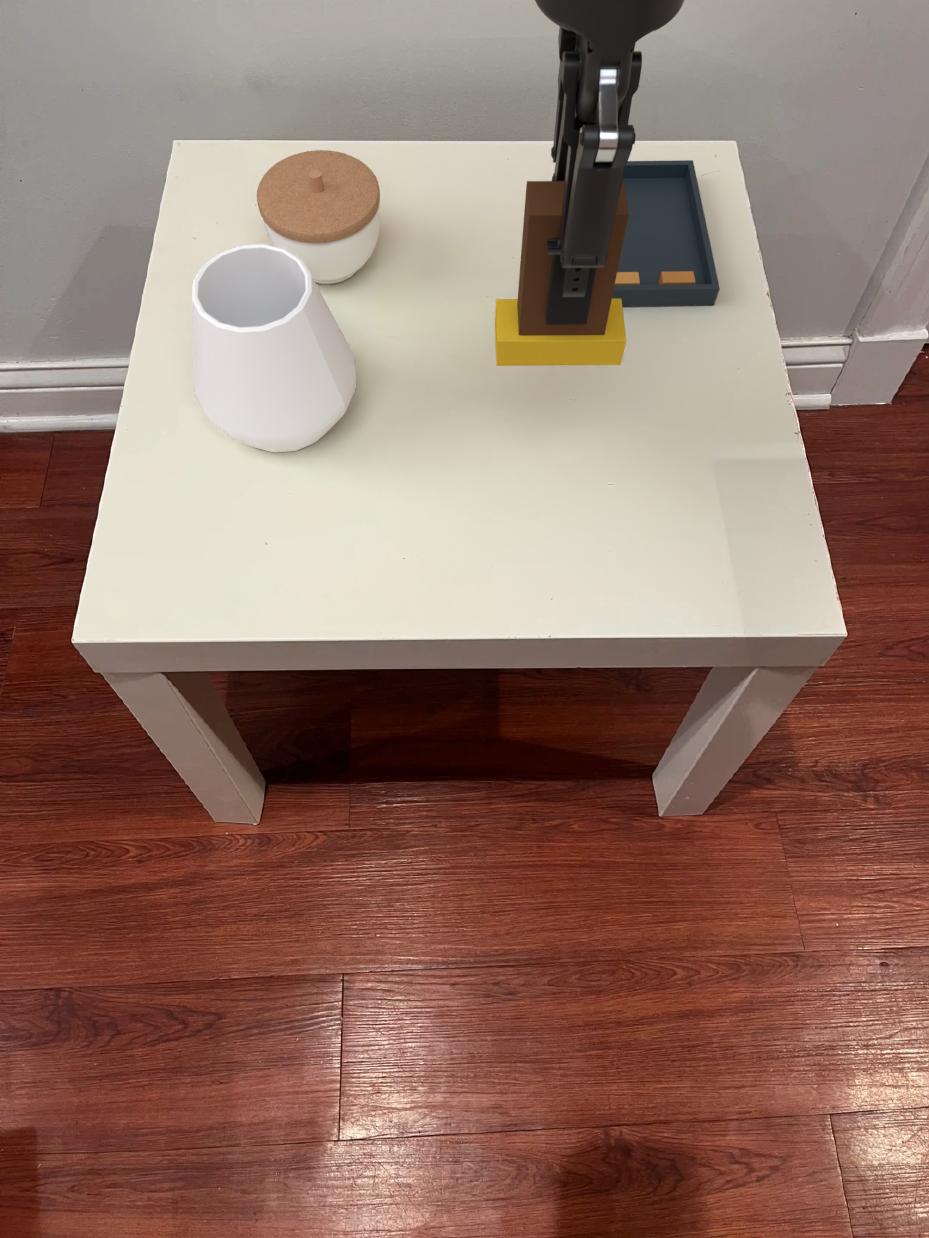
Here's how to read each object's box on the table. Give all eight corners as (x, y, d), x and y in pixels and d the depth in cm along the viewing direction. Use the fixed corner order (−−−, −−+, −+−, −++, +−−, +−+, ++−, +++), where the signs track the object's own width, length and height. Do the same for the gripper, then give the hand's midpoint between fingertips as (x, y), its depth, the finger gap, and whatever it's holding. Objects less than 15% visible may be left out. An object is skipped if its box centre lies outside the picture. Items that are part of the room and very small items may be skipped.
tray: (713, 305, 83) (719, 288, 81) (583, 308, 83) (585, 290, 81) (688, 178, 91) (693, 160, 89) (567, 180, 91) (570, 161, 89)
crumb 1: (637, 294, 83) (640, 283, 82) (605, 295, 83) (607, 283, 82) (635, 283, 84) (638, 271, 82) (603, 284, 84) (605, 272, 82)
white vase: (263, 329, 82) (228, 197, 69) (390, 385, 79) (378, 259, 66) (174, 434, 76) (119, 312, 64) (307, 497, 74) (277, 384, 61)
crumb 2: (692, 293, 83) (695, 282, 82) (660, 294, 83) (663, 282, 82) (690, 282, 84) (693, 271, 83) (658, 283, 84) (661, 271, 82)
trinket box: (252, 283, 84) (229, 197, 76) (303, 209, 88) (287, 120, 80) (356, 316, 82) (345, 232, 74) (403, 239, 87) (397, 151, 78)
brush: (615, 323, 67) (648, 175, 55) (620, 365, 65) (654, 220, 54) (494, 324, 66) (502, 175, 55) (496, 366, 65) (504, 221, 53)
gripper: (528, -184, 44) (506, 218, 65) (545, 14, 37) (513, 392, 58) (681, -184, 44) (609, 217, 65) (727, 14, 37) (629, 392, 58)
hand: (564, 299), depth 62 cm, fingers closed on brush, 3 cm apart
